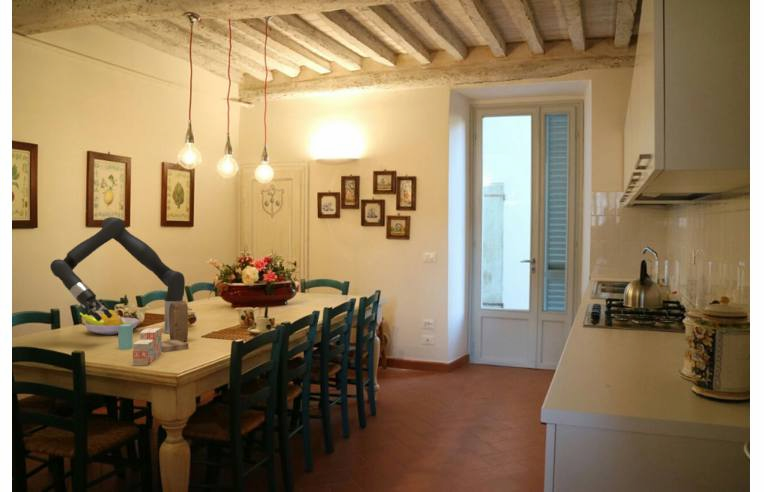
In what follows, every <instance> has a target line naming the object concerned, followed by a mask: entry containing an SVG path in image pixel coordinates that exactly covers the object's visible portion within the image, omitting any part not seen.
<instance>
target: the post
mask: <svg viewBox="0 0 764 492" xmlns="http://www.w3.org/2000/svg"><path fill="white" fill-rule="evenodd" d="M133 330H134V329H133V325H130V324H123V325H120V326H118V339H117V340H118V343H117V344H118V345H117V347H118V350H123V349H124V350H125V351H126V350H127V351H128V350H130V349H133V344H134V343H133V339H134V338H133V337H134V333H133V332H134V331H133Z"/></svg>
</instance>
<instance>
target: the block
mask: <svg viewBox="0 0 764 492" xmlns="http://www.w3.org/2000/svg"><path fill="white" fill-rule="evenodd" d="M169 328H170V333H169V339H170V340H169V341H171V340H180V341H182V342H185V343H186V341H188V335H189V308H188V303H187V302H186V301H184V300H183V301H174V302H171V304H170V308H169Z"/></svg>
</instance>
